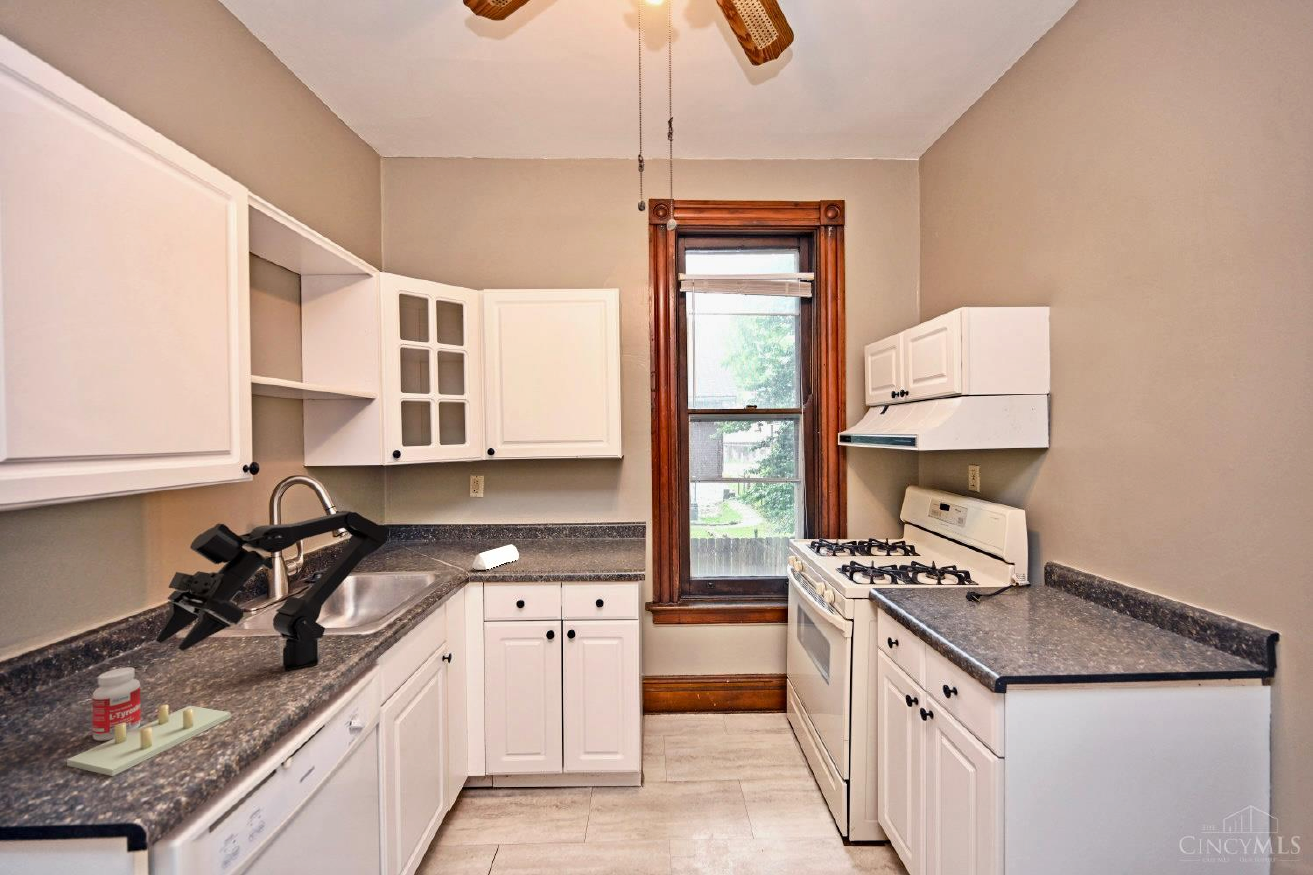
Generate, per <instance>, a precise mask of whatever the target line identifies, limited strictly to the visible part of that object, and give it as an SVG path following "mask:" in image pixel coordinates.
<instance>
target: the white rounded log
mask: <svg viewBox="0 0 1313 875" xmlns="http://www.w3.org/2000/svg"><path fill="white" fill-rule="evenodd" d="M519 557H520V553H519V552H518V549H517V547H516V546H514V545H513V544H507V545H504V546H501V547H498V548H494V549H490V550H487V551H484V552H481V553H478V554H477V555H476V556H475V558H474V561H473V563H472V569H473V568H474V569H489V570H492V569H494V568H493V567H495V568H497V567H496V566H498V567H500V566H499V565H501V564H504V563H506V562H510V563H512V561H513V562H516V561H518V559H520V558H519ZM515 560H516V561H515ZM504 565H505V564H504ZM501 566H502V565H501ZM491 568H492V569H491ZM474 569H473V570H474Z"/></svg>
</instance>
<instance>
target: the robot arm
mask: <svg viewBox="0 0 1313 875" xmlns="http://www.w3.org/2000/svg"><path fill="white" fill-rule="evenodd" d="M342 529H344V530H345V532H347V533H348V534H349V535H351V536H350V538H349V541H348V544H347V547H346V549H345V550H343V552H342V553H341V554H340V555H339V556H338V558H336V560H334V562H333V563H332V564H331V565H330V566H329V567H328V568H327V570H326V571H325V572H324V573H323V574H322V575H321V576H319V578H318V579H317V580H316V582H314V584H313V585H312V586H311V587H310V588H309V589H308V590H307V591H306V592H305V593H304V594H302V595H301V596H299V597H295V596H289V597H288V598H287V599H286V601H285V602H284V603H283V605H282V606H280V607H279V608H277V609H276V611H275V612H276V614H275V615H274V617H273V619H272V621H273V622H272V625H273V626H272V627H273V629H274V630H275V631H276V632H277V633H280V635H281V638H282V639H286V641H285V645H283V648H282V665H283V666H284V671H285V672H286V671H287V672H288V671H291V670H297V669H301V668H308V667H312V666H317V665H319V662H320V655H321V654H320V652H319V651H320V650H319V647H320V646H319V644H320V643H319V642H320V641H319V639H320V638H323V637H324V634H325V630H326V627H324V626H323V625H321V624H320V623H319V622H317V621H318V620H319V617H320V614H321V611H322V607H323V605H324V604H325V602H326V601H328V599H329V598H330V597H331V596H332V595H333V593H334V592H336V590H337V589H338V588H339V587H340V586H341V585H342V584H343V582H344V581H345V580H346V579H347V578H348V577H349V575H350V574H351V573H352V572H353V571H354V570H355V568H356V567H357V566H358V565H359V564H360V563H361V562H362V560H363V559H365V558H366V557H368V556H370V555H372V554H373V553H375V552H377V551H378V550H379V549H380V548H382V547H383V546H385V544H386V543H387V542H388V541H389V538H390V536H389V535H390V534H389V530H388V528H387V527H386V525H384V524H378V523H376V522H375V521H372V520H371V519H368V518H366V517H364V516H362V515H361V514H359V513H358V512H356V511H354V510H341V511H339V512H334V513H332V514H327V515H323V516H319V517H315V518H312V519H311V518H310V519H308V520H303V521H298V522H295V523H286V524H285V523H282V524H280V523H279V524H265V525H264V524H263V525H259V526H256V527H254V528H253V529H252V530H251V532H247V533H243V534H240V535H238V534H236V533H235V532H233V531H232V530H231V529H230V528H229V527H228V526H227V525H226V524H225V523H221V522H220V523H216V525H214V526H213V527H211V528H208V529H207V530H206V531H204V532H202V533H200V534H198V535H197V536H196V537H195V538H194V540H193V541H192V542H191V544H190V549H191V551H194V552H195V553H197V554H198V555H199V556H201V557H203V558H204V559H206V560H208V561H209V562H211V563H213V564H214V565H219V564H222V563H223V564H224V565H223V566H222V567H221V568H220V569H219V570H218V571H217V572H214V571H212V572H210V573H209V572H204V571H199V570H198V571H197V572H195V573H194V574H190V573H189V574H188V573H183V572H179V571H176V572H175V573H174V575H173V578H172V580H171V582H170V583H169V585H168V587H167V588H169V589H174V591H172V593H171V594H170V595H169V596H168V597H166V598H167V600H168V601H167V605H168V607H169V615H168V616H167V619H166V620H165V622H164V624H163V626H162V628H161V629H160V631H159V633H158V635H157V637H156V639H155V641H156V642H157V643H160V644H162V643H164V642H165V641H166V640H169V639H170V638H171V637H173V636H174V635H176V634H177V633H178V632H180V631H181V630H183V629H184V628H186V627H187V626H189V625H190V624H191V623H193V622H194V621H196V620H197V621H196V623H195V624H194V625H193V626H192V628H191V629H190V630H189V632H188V633H187V635H186V636H185V637H184V639H183V640H182V641H181V643H180V644H179V646H178V647H177V649H178V650H180V651H186V650H187V649H189V648H190V647H193V646H194V645H196V644H198V643H200V642H202V641H203V640H205V639H207V638H209V637H211V636H212V635H214V634H216V633H218V632H220V631H223V630H225V629H226V628H230V627H231V624H233V625H235V626H236V625H237V624H239V622H240V621H241V620H242V619H243V617H244V609H243V608H241V607H239V606H237V605H236V604H234V603H232V602H231V601H232V600H233V599H234V598H235V597H236V596H237V594H238V593H245V591H246V590H247V587H245V586H246V585H247V583H248V582H249V581H250V580H251V579H252V578H253V576H255V574H256V573H257V572H258V571H259V570H260V569H261V568H262V569H268V570H273V569H274V563H273V556H268V555H267V556H264V555H262V554H260V553H259V552H265V553H271V554H273V553H275V554H276V553H278V552H282V551H283V550H285V549H288V548H290V547H293V546H294V545H295V544H297V543H298V542H300V541H303V540H304V539H309V538H313V537H316V536H320V535H323V534H326V533H327V534H328V533H331V532H335V531H338V530H342ZM245 547H246V548H251V549H253V550H247V549H245Z"/></svg>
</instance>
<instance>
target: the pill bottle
mask: <svg viewBox="0 0 1313 875" xmlns="http://www.w3.org/2000/svg"><path fill="white" fill-rule="evenodd" d="M97 685H98V687H97V688H96V689H95V690H94V692H93V693H92V698H91V700H92V738H93V740H95V741H98V742H99V741H101V742H102V741H110V740H113V739H115V725H117V724H119V723H124V722H125V723H126V733H128V732H131V731H133V730H135V729H138V728H140V727H141V682H140V681H139V680H138V679H136V678H135V668H134V667H120V668H115V669H111V670H108V671H106V672H103V673H101V674H100V675H98V676H97Z"/></svg>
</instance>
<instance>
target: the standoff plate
mask: <svg viewBox="0 0 1313 875" xmlns="http://www.w3.org/2000/svg"><path fill="white" fill-rule="evenodd" d="M157 713H158V714H157V717H158V718H157V719H156V720H154V721H152V722H150V723H147V724H145V725H142V726H139V727H138V728H137V729H135V730H133V731H131V732H128V733H126V723H125V722H124V723H119V724H117V725H115V739H111V740H107V741H106V742H104V743H102V744H99V745H97V746H94V747H92V748H89V749H88V750H86V751H84V752H81V753H78V754H76V755H75V756H72V757H69V758H67V759H66V766H67V767H71V768H76V769H80V770H85V771H89V772H93V773H97V774H101V775H107V776H110V777H114V776H115V775H119V774H120V773H123V772H124V771H126V770H128V769H130V768H132V767H134V766H136V765H138V764H140V763H143V762H145V761H146V760H148V759H150V758H152V757H154V756H156V755H158V754H161V753H162V752H165V751H167V750H169V749H171V748H172V747H175V746H177V745H179V744H181V743H183V742H184V741H185V742H186V741H187V740H190V738H193V737H195V736H197V735H199V734H201V733H203V732H205V731H206V730H209V729H211V728H213V727H215V726H217V725H219V724H222V723H224V722H225V721H227V720H230V719H231V718H232V712H230V711H223V710H218V709H211V708H206V707H200V706H196V705H195V706H194V705H188V706H185V707H183V708H181V709H178V710H176V711H173V712H171V713H170V714H169V704H162V705H159V706H158V708H157Z"/></svg>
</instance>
